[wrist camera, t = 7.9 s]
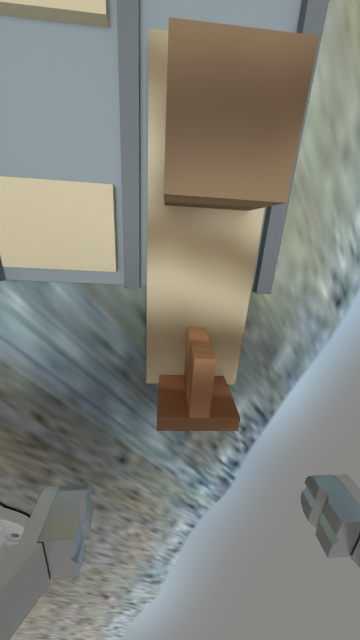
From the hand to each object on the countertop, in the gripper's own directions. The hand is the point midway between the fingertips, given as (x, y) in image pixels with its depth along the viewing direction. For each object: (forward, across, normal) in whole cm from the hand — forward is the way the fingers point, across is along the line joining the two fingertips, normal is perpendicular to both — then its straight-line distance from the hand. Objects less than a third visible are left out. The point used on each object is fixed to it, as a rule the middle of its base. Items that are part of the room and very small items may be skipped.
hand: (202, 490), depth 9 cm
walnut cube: (+9, +1, +13) cm, 16 cm away
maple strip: (+10, +1, +8) cm, 13 cm away
